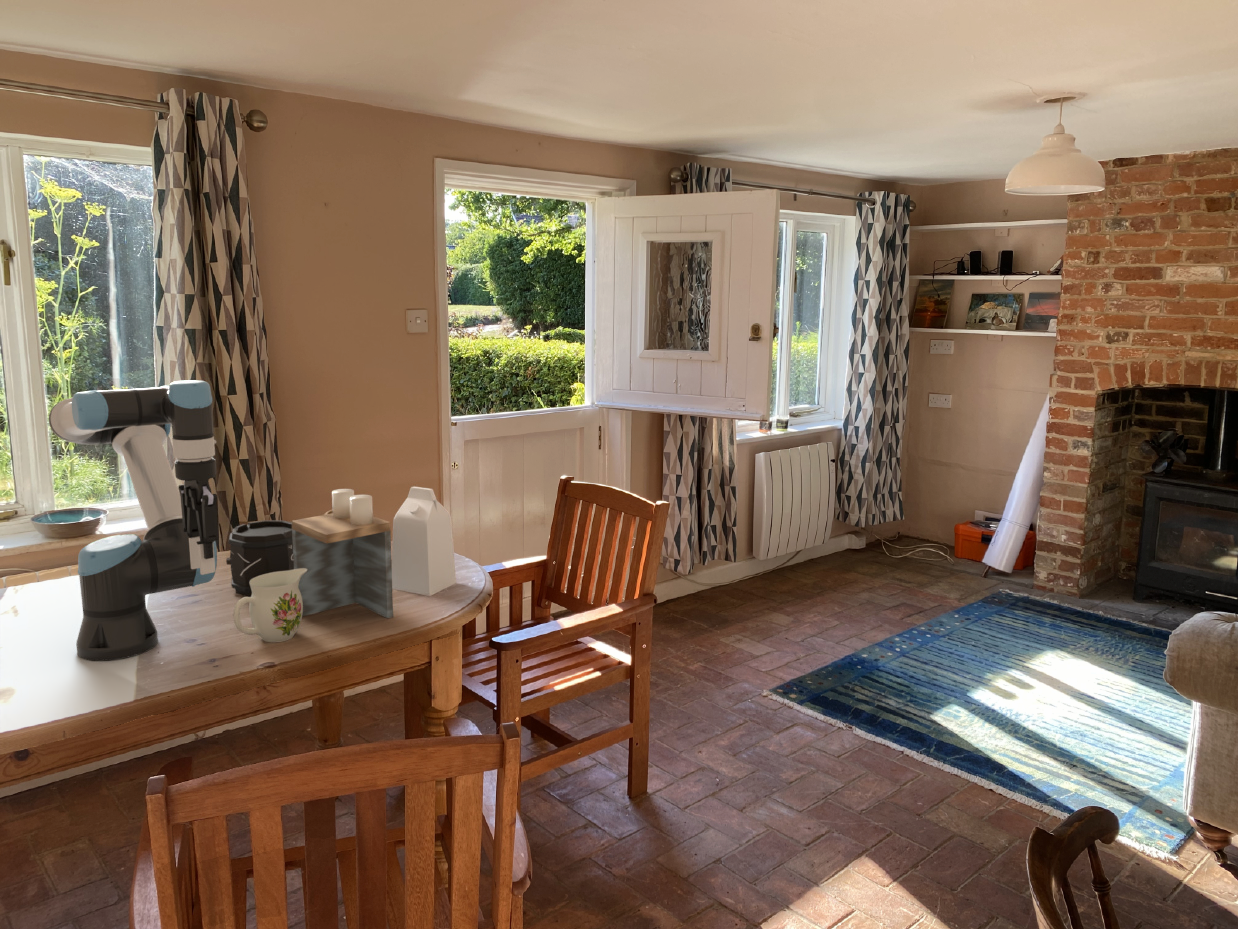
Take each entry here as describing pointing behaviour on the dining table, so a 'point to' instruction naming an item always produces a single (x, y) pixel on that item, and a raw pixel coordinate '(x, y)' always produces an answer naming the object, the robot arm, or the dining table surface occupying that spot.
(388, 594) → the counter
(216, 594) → the dining table surface
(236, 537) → the black octagonal canister
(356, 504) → the white ceramic cup
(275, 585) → the pitcher
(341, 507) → the white ceramic cylinder
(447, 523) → the milk
